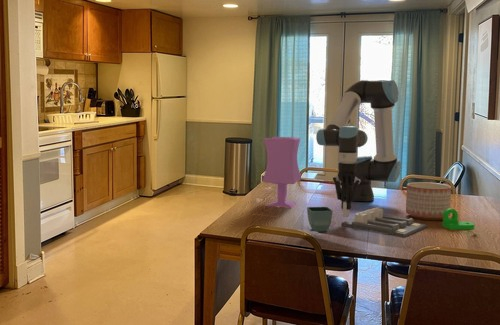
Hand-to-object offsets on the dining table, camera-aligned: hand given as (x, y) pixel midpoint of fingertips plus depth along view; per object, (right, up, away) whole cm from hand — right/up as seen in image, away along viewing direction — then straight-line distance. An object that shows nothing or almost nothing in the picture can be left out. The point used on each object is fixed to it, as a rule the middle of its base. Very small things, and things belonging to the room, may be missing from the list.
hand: (345, 216), depth 206 cm
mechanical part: (+47, -5, -5) cm, 47 cm away
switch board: (+15, -4, -4) cm, 16 cm away
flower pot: (-13, -5, -12) cm, 18 cm away
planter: (+41, -2, +16) cm, 44 cm away
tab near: (+5, -2, -5) cm, 8 cm away
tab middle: (+10, -2, +1) cm, 10 cm away
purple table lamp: (-25, +1, +38) cm, 45 cm away
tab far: (+15, -1, +6) cm, 16 cm away
